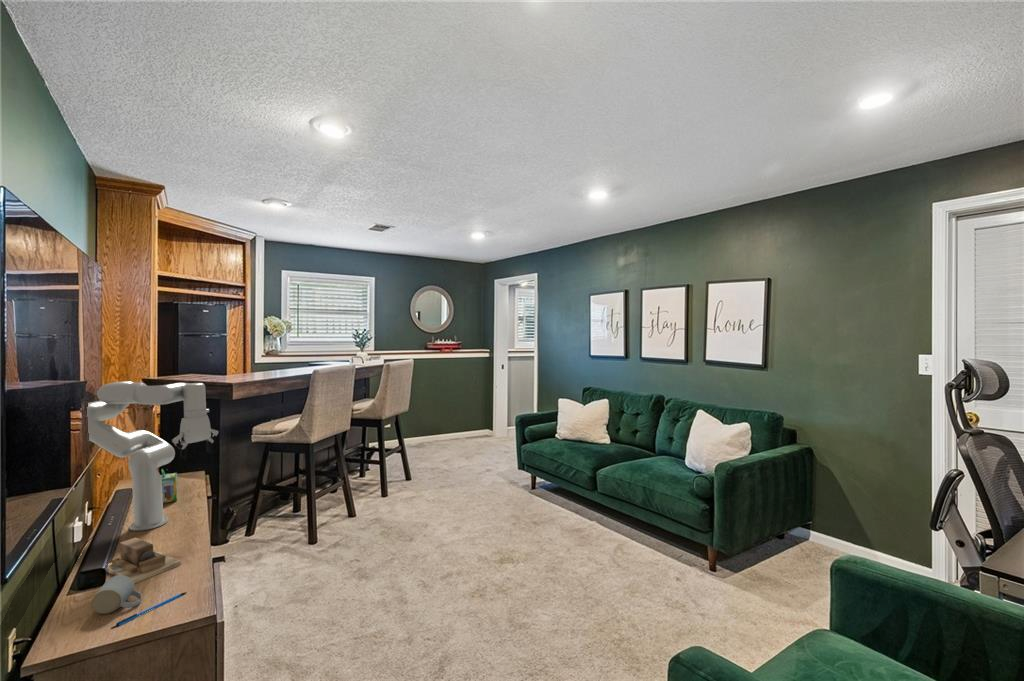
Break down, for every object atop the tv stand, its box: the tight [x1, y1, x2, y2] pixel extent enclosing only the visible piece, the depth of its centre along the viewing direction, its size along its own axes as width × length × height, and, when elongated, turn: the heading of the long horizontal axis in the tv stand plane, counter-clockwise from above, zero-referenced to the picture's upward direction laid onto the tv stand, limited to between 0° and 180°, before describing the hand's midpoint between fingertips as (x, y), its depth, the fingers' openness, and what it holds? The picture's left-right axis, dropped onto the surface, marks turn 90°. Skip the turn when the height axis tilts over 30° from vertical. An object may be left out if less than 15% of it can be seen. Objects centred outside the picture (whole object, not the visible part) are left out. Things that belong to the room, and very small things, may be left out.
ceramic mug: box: [91, 575, 143, 615], centre depth 137 cm, size 11×8×8 cm
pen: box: [110, 591, 188, 630], centre depth 136 cm, size 1×19×1 cm, turn 153°
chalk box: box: [160, 468, 179, 504], centre depth 223 cm, size 9×9×15 cm
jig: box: [107, 549, 182, 584], centre depth 160 cm, size 20×14×4 cm
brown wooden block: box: [119, 537, 155, 568], centre depth 162 cm, size 14×4×6 cm, turn 61°
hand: (196, 455), depth 195 cm, fingers open, 9 cm apart
